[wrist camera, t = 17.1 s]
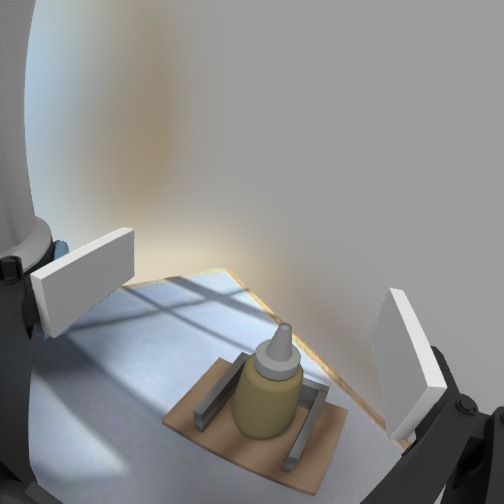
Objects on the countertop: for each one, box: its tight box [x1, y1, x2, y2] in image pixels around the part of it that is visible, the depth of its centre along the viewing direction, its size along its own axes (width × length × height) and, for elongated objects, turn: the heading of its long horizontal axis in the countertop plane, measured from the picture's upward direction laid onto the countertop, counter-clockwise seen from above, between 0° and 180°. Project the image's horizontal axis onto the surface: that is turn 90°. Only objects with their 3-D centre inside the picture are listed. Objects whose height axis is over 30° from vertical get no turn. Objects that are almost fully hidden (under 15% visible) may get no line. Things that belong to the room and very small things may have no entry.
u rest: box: [162, 352, 348, 496], centre depth 34 cm, size 22×15×6 cm
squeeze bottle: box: [231, 323, 303, 441], centre depth 30 cm, size 8×8×18 cm
